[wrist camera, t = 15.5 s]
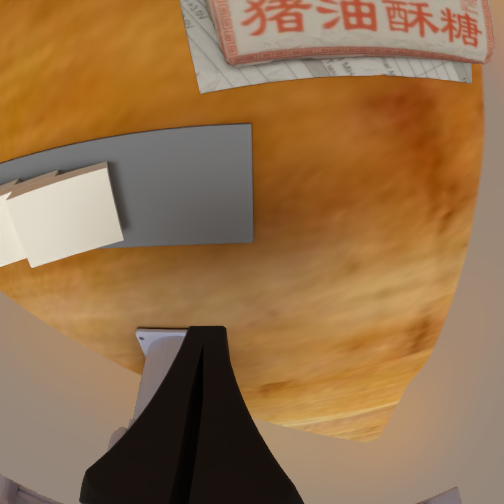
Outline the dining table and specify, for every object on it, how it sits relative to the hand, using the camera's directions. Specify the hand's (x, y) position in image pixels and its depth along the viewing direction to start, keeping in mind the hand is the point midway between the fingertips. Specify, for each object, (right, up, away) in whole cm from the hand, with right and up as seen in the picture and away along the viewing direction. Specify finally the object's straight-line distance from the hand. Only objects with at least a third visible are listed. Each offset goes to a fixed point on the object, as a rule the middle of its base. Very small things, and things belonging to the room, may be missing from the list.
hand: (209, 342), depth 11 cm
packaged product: (+7, +18, +1) cm, 19 cm away
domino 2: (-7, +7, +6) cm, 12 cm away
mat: (-12, +7, +7) cm, 16 cm away
